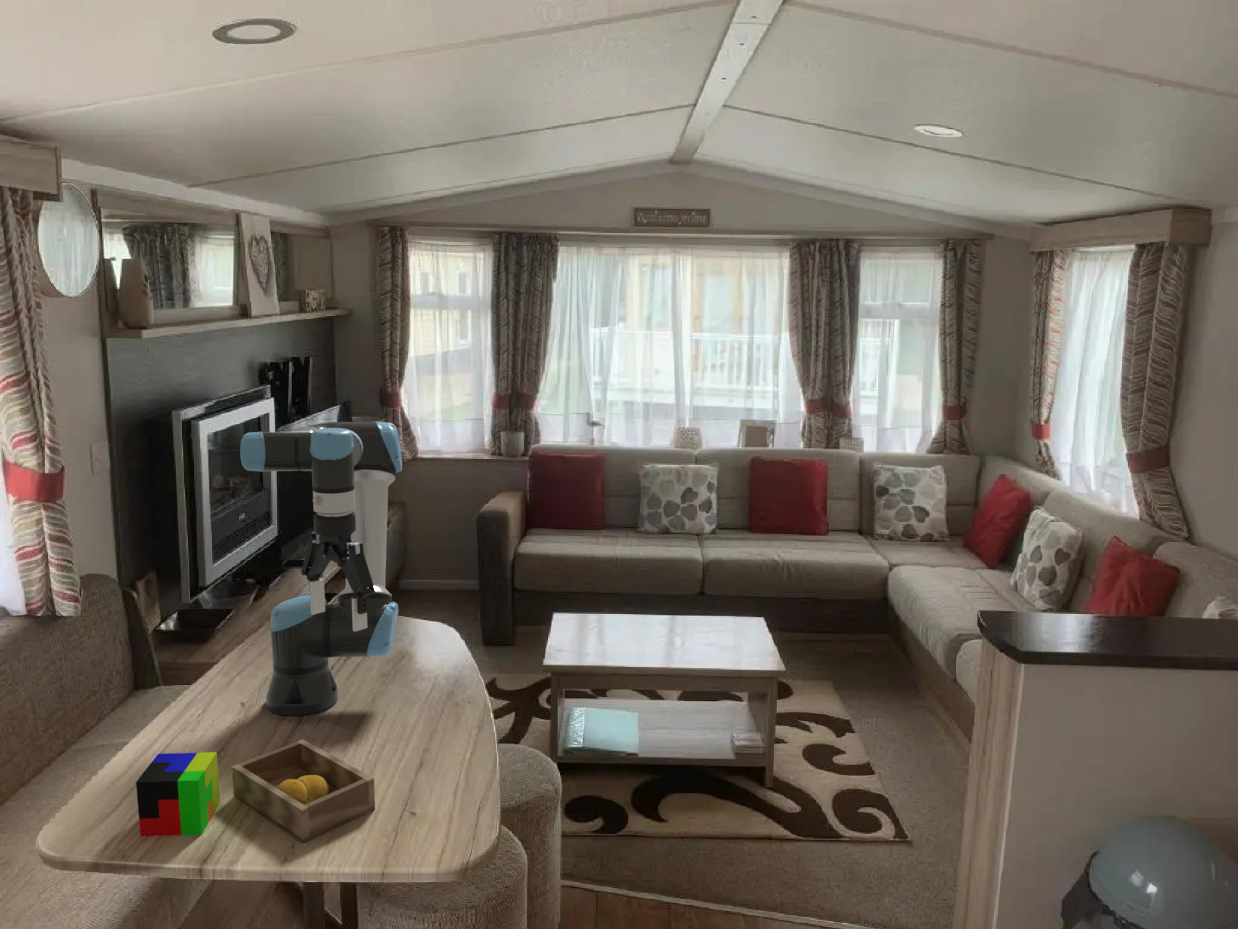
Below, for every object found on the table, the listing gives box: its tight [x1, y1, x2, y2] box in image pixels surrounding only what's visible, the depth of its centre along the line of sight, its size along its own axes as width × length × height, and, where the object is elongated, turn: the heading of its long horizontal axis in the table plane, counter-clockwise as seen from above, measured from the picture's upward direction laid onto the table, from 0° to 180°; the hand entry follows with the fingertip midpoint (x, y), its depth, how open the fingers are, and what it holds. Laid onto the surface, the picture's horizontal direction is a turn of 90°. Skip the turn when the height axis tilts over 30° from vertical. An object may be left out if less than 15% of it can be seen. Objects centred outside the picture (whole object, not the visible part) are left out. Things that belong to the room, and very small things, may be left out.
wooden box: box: [231, 739, 376, 844], centre depth 177 cm, size 22×14×6 cm, turn 50°
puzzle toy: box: [135, 751, 221, 837], centre depth 171 cm, size 10×10×10 cm
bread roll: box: [277, 775, 329, 805], centre depth 177 cm, size 8×9×4 cm
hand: (338, 621), depth 188 cm, fingers open, 13 cm apart
